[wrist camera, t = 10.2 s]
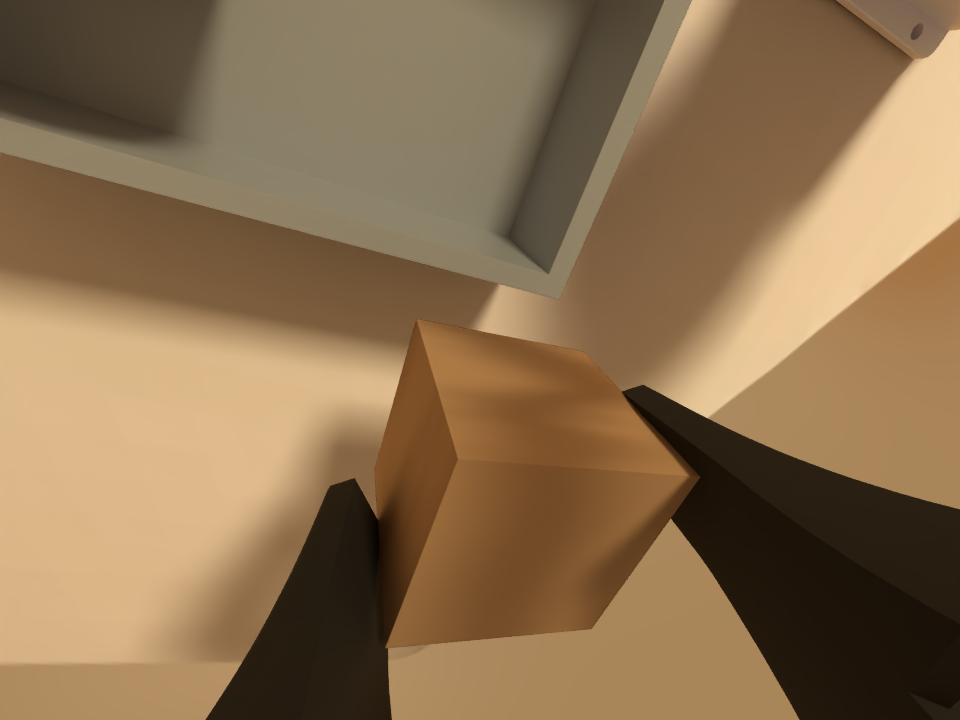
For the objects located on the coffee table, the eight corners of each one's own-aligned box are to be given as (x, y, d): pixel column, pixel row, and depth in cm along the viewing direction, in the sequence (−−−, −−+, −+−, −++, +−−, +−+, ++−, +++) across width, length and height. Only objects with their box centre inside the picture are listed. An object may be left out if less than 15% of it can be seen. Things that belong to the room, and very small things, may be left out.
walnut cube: (584, 351, 12) (700, 477, 8) (523, 478, 14) (591, 629, 10) (416, 318, 11) (457, 459, 6) (374, 469, 13) (385, 648, 9)
